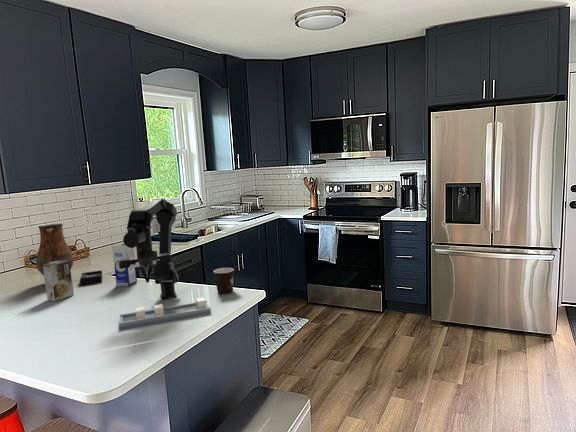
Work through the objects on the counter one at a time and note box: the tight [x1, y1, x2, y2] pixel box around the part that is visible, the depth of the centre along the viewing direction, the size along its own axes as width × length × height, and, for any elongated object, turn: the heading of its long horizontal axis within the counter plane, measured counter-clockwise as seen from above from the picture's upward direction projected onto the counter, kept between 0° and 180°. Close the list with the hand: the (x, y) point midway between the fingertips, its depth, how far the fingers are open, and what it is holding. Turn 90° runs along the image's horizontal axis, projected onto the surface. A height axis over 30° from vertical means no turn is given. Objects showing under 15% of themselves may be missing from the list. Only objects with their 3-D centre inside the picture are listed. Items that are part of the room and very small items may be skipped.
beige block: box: [135, 306, 146, 319], centre depth 156 cm, size 4×3×3 cm
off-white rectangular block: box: [153, 303, 164, 316], centre depth 158 cm, size 4×3×3 cm
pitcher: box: [35, 223, 74, 276], centre depth 214 cm, size 17×21×30 cm
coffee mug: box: [213, 267, 235, 295], centre depth 183 cm, size 12×9×10 cm
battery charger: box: [79, 270, 103, 287], centre depth 217 cm, size 13×10×4 cm
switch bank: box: [118, 300, 212, 331], centre depth 159 cm, size 10×32×2 cm, turn 110°
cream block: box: [195, 296, 207, 309], centre depth 164 cm, size 4×3×3 cm
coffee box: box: [43, 260, 75, 302], centre depth 191 cm, size 9×6×16 cm
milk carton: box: [111, 243, 138, 287], centre depth 206 cm, size 7×7×20 cm
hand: (147, 282), depth 164 cm, fingers closed
